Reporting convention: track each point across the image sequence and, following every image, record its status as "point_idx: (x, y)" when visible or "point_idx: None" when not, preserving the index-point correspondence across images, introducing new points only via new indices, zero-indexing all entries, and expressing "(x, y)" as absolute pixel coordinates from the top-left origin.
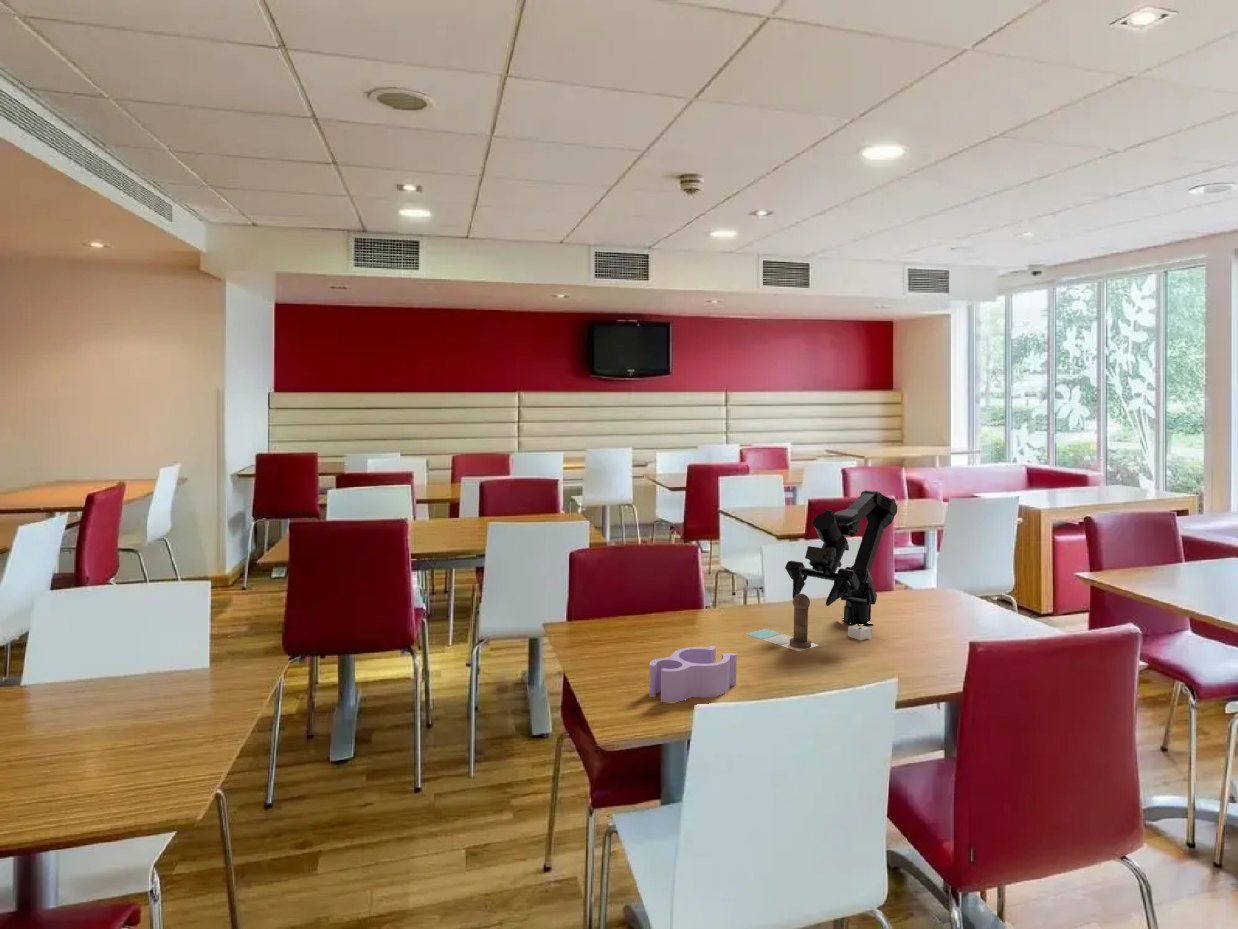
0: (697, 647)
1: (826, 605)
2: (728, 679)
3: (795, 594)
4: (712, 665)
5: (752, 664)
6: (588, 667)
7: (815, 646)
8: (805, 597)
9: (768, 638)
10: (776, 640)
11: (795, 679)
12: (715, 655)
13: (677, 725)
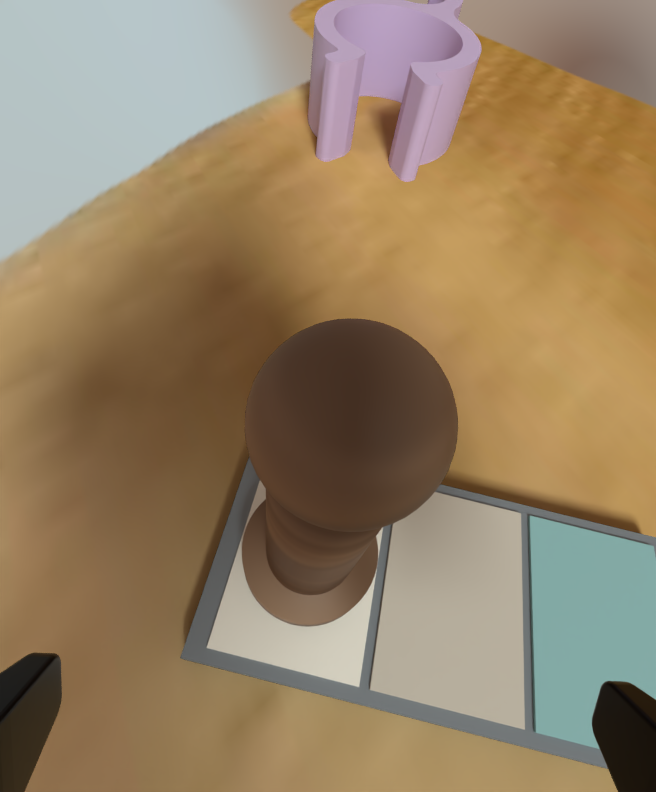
0: (458, 64)
1: (54, 680)
2: (313, 95)
3: (648, 741)
4: (329, 3)
5: (375, 289)
6: (635, 116)
7: (221, 602)
8: (287, 351)
9: (514, 553)
10: (460, 548)
11: (182, 247)
12: (413, 109)
13: (296, 18)
